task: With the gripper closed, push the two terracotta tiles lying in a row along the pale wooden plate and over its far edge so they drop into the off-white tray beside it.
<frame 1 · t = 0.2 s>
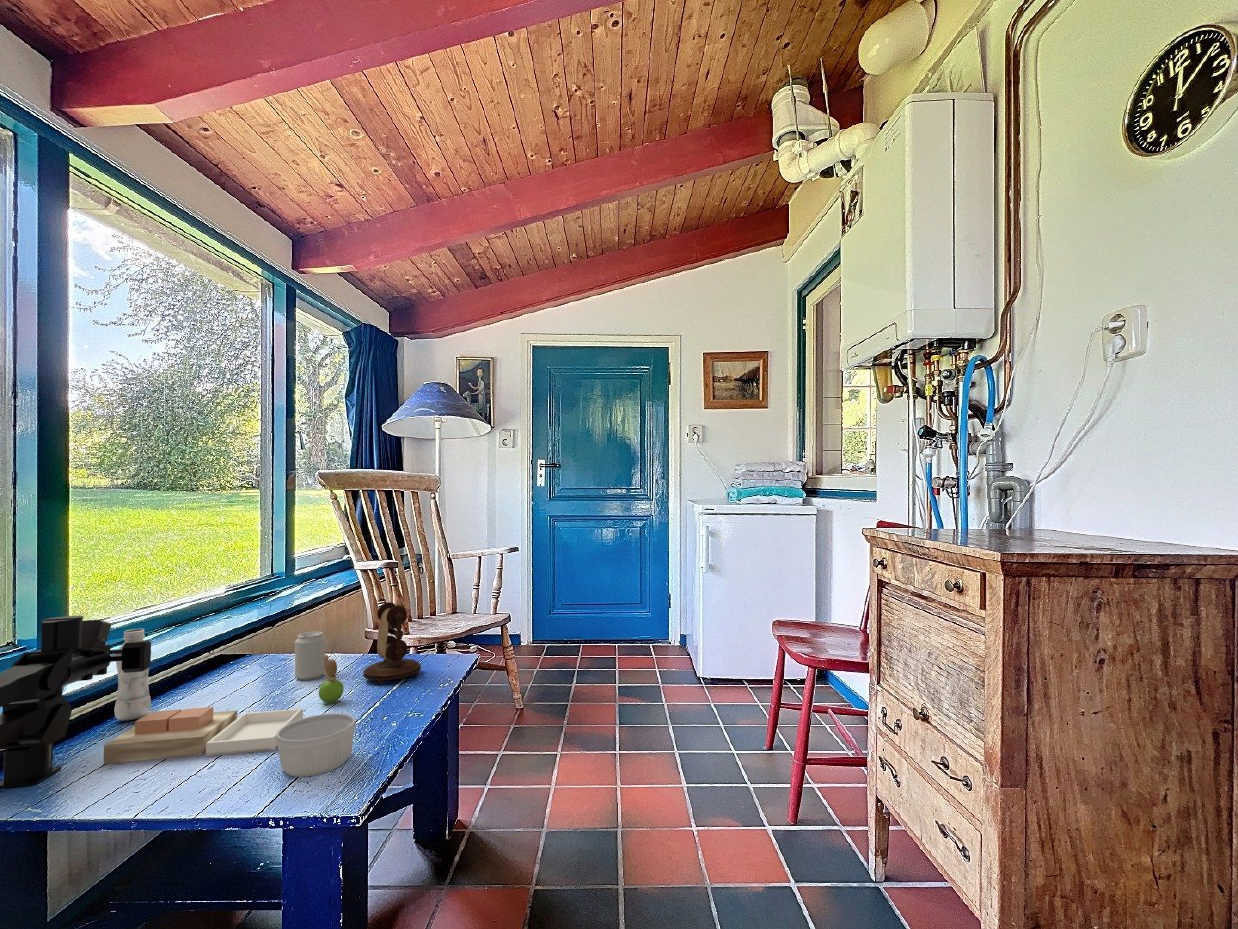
hand: (125, 650, 131), 16 cm above the table, tool horizontal, fingers open, 9 cm apart
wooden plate: (175, 744, 119), on the table
tile 2: (191, 725, 120), point 3 cm above the table, touching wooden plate
green maraca: (330, 702, 142), on the table
ramekin: (316, 765, 109), on the table
can: (310, 677, 162), on the table
plastic bottle: (132, 719, 133), on the table
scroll: (392, 678, 160), on the table
tile 1: (158, 727, 119), point 3 cm above the table, touching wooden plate
tray: (257, 736, 122), on the table
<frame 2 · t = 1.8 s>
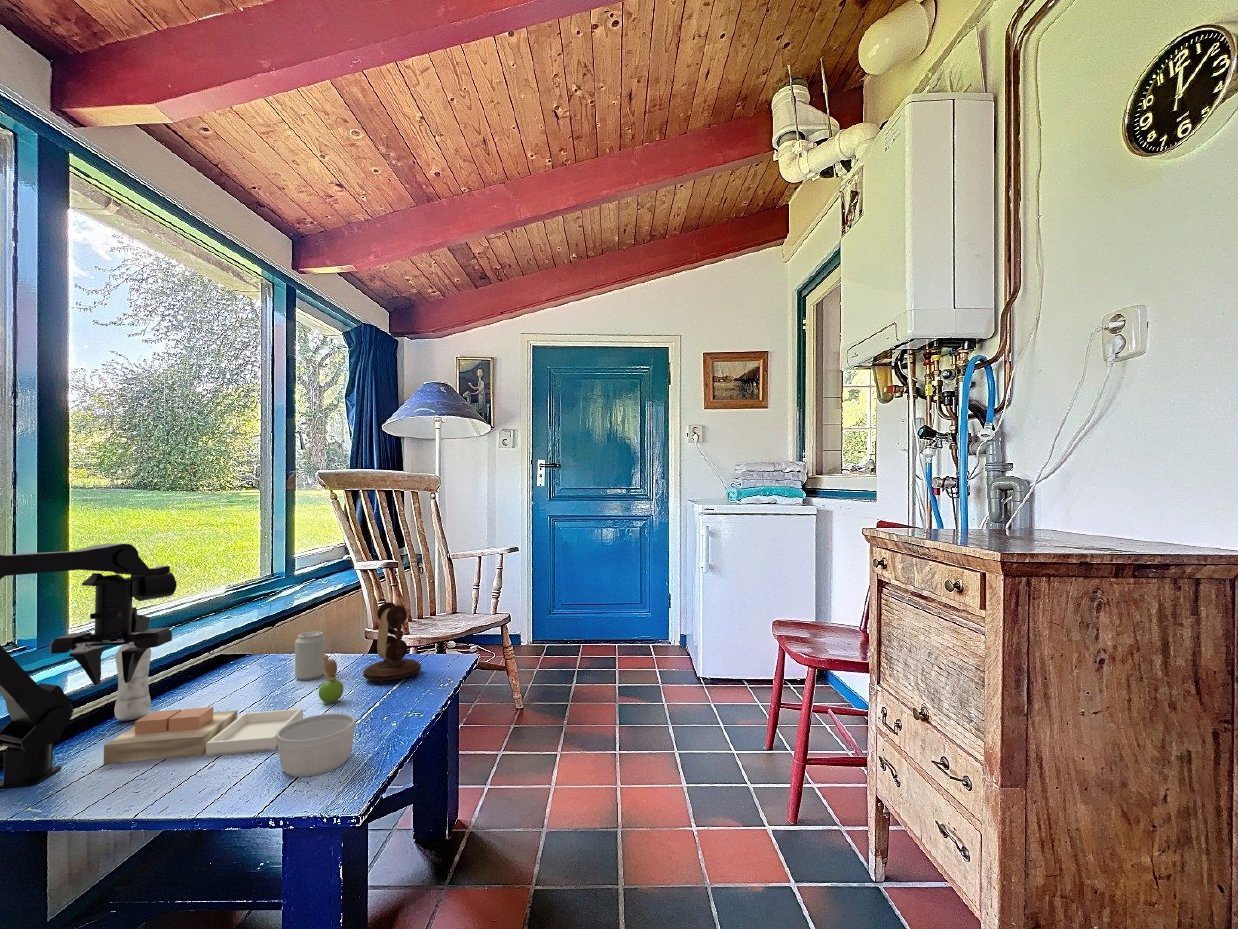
hand: (112, 683, 118), 13 cm above the table, tool pointing down, fingers open, 5 cm apart
nothing on the table moved.
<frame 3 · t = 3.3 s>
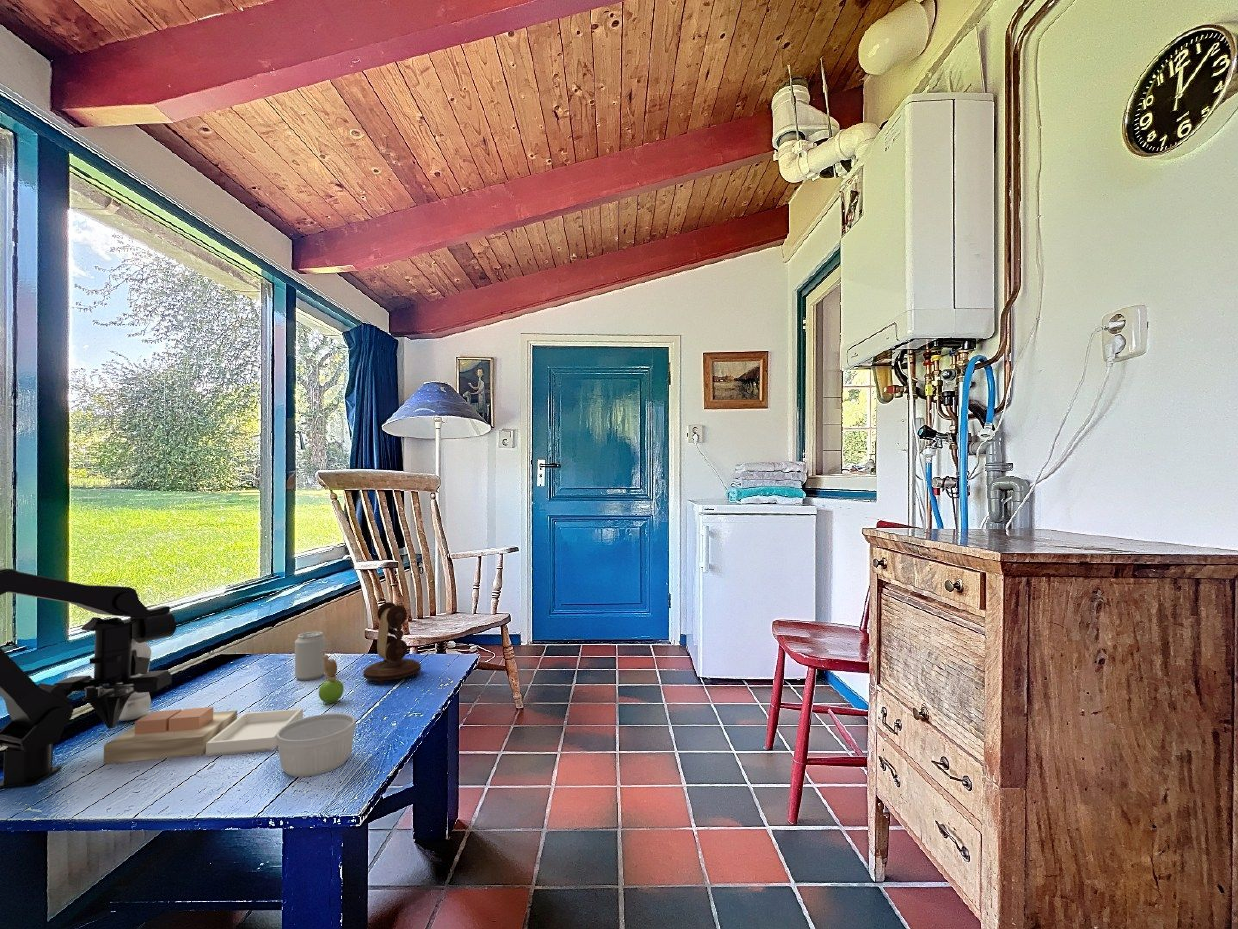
hand: (111, 727, 117), 4 cm above the table, tool pointing down, fingers closed
nothing on the table moved.
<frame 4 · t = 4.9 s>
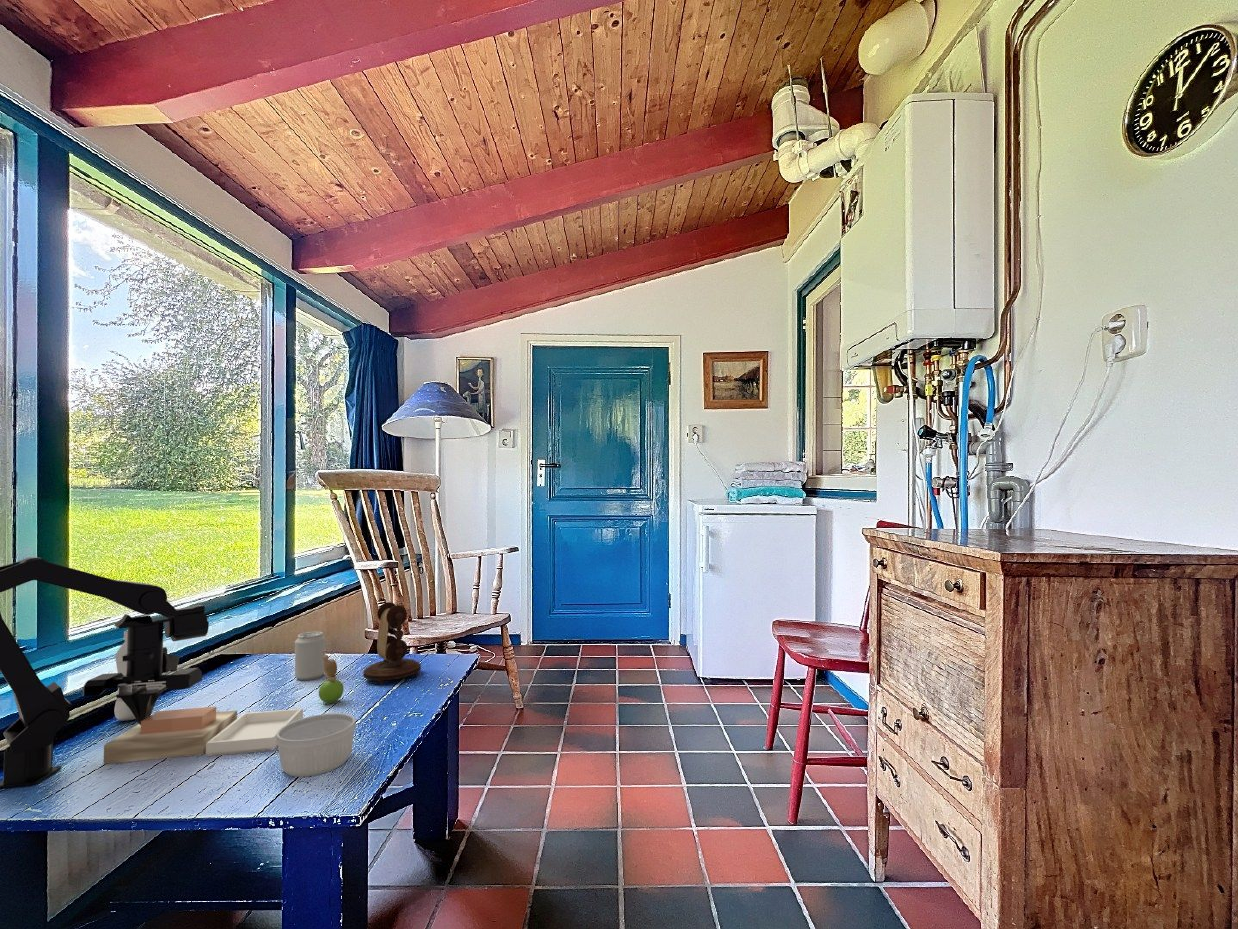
hand: (143, 724, 118), 4 cm above the table, tool pointing down, fingers closed
tile 2: (194, 724, 120), point 4 cm above the table, touching tile 1
tile 1: (164, 727, 119), point 4 cm above the table, touching tile 2, gripper
everything else where it was.
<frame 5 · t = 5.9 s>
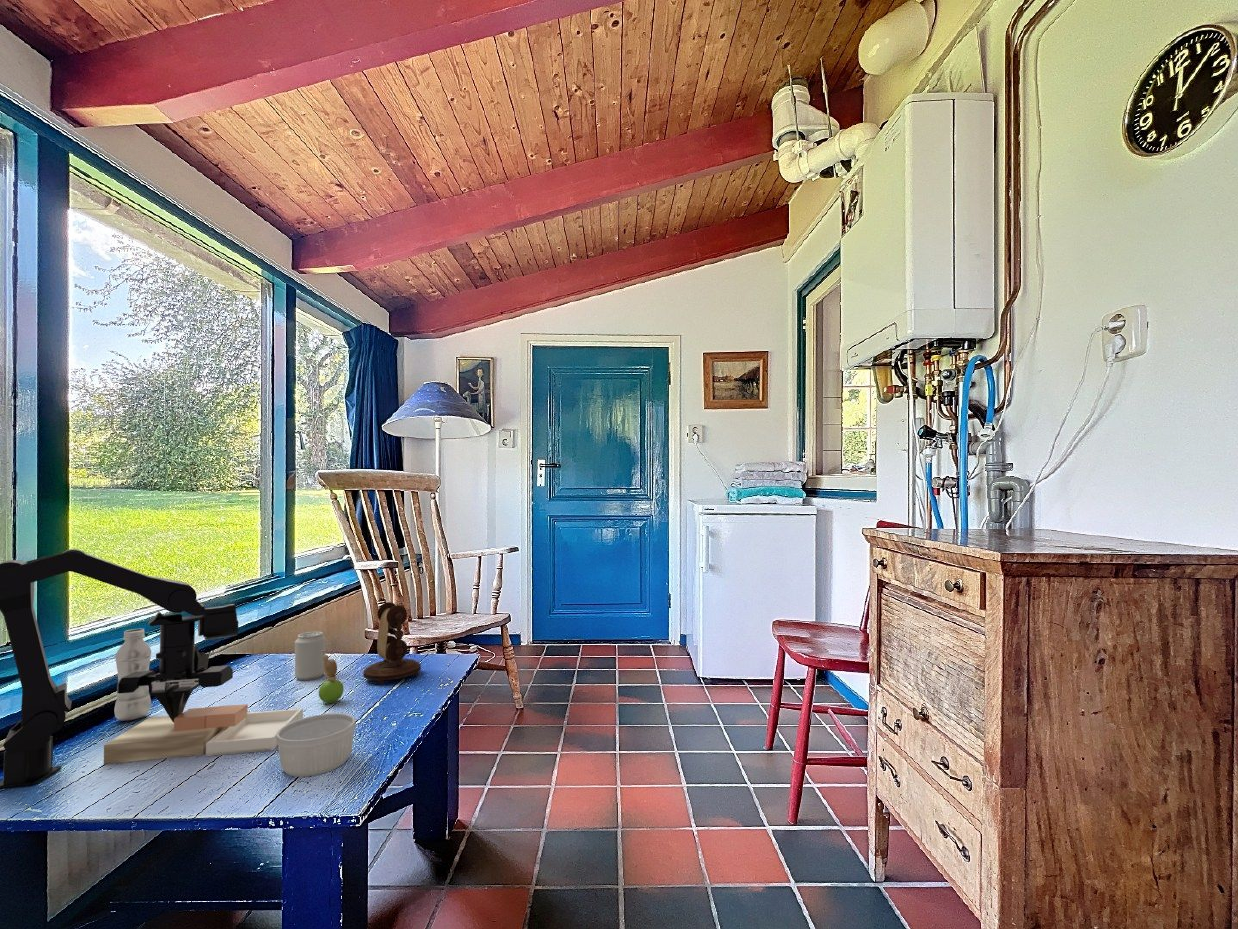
hand: (176, 721, 119), 4 cm above the table, tool pointing down, fingers closed
tile 2: (226, 722, 121), point 3 cm above the table, touching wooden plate
tile 1: (196, 724, 120), point 4 cm above the table, touching gripper
everything else where it was.
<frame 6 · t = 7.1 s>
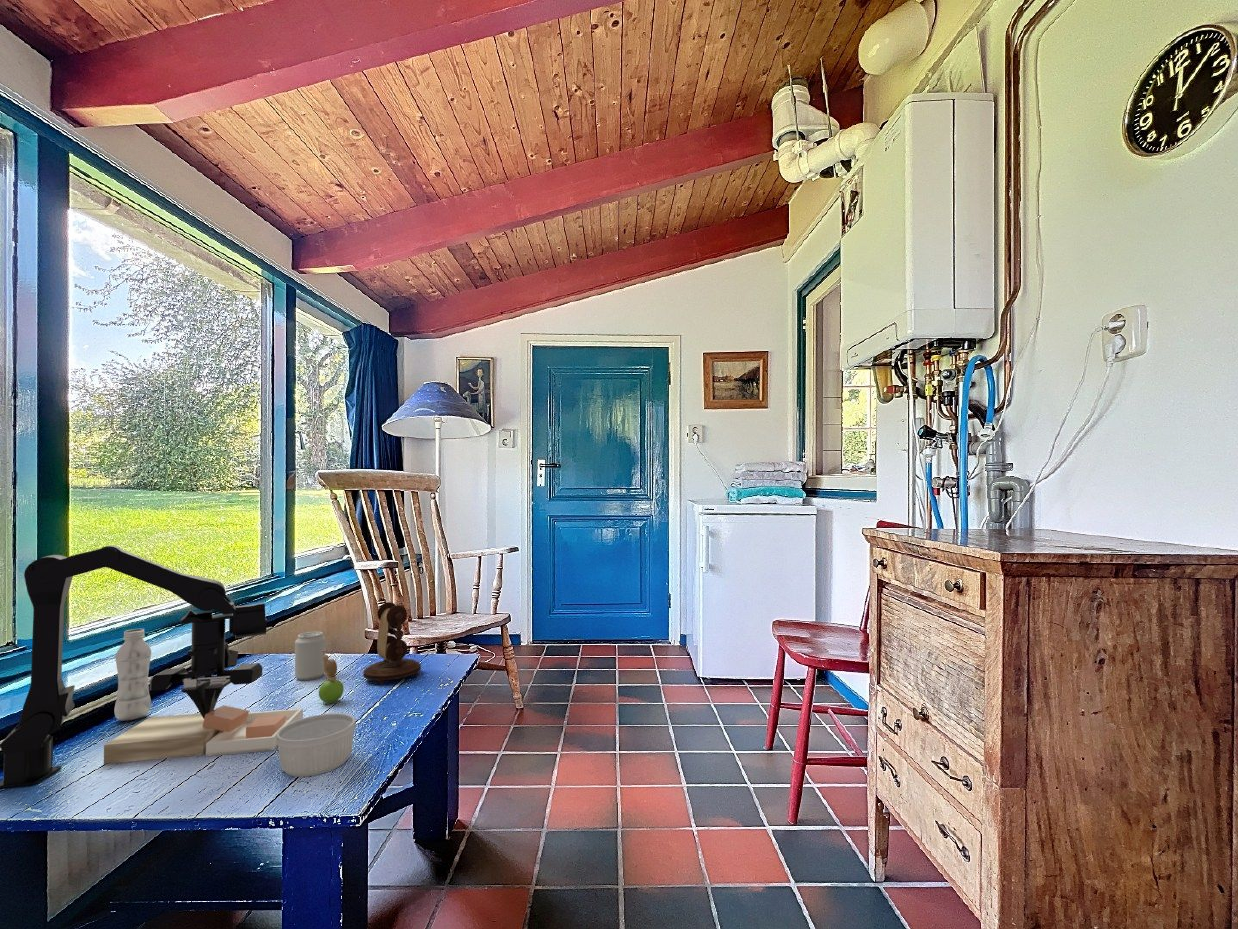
hand: (207, 718, 120), 5 cm above the table, tool pointing down, fingers closed
tile 2: (266, 721, 122), point 3 cm above the table, tilted 180°, touching tray
tile 1: (224, 724, 120), point 3 cm above the table, tilted 13°, touching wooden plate
everything else where it was.
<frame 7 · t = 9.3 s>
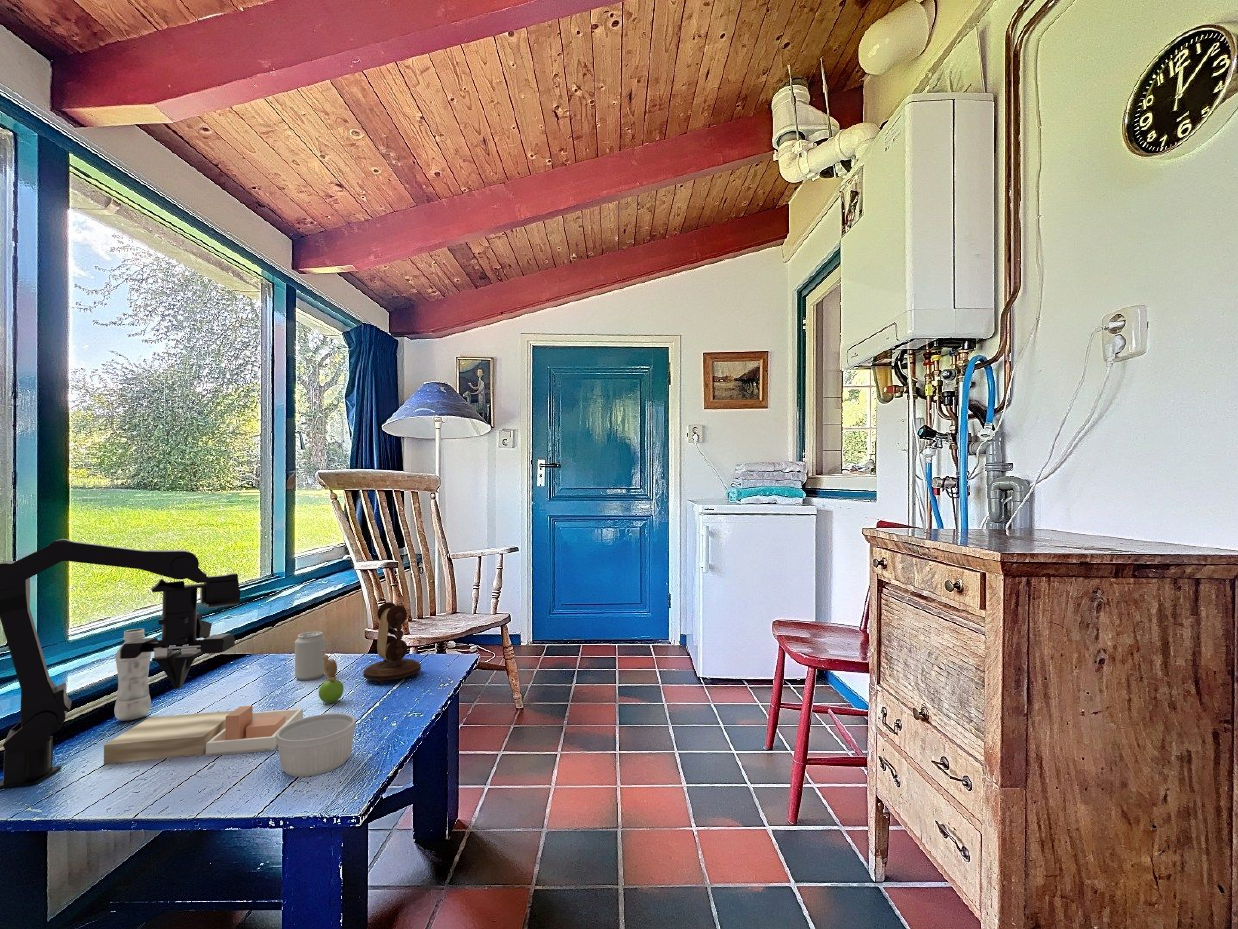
hand: (178, 688, 120), 11 cm above the table, tool pointing down, fingers closed
tile 1: (232, 725, 120), point 3 cm above the table, tilted 90°, touching tray
everything else where it was.
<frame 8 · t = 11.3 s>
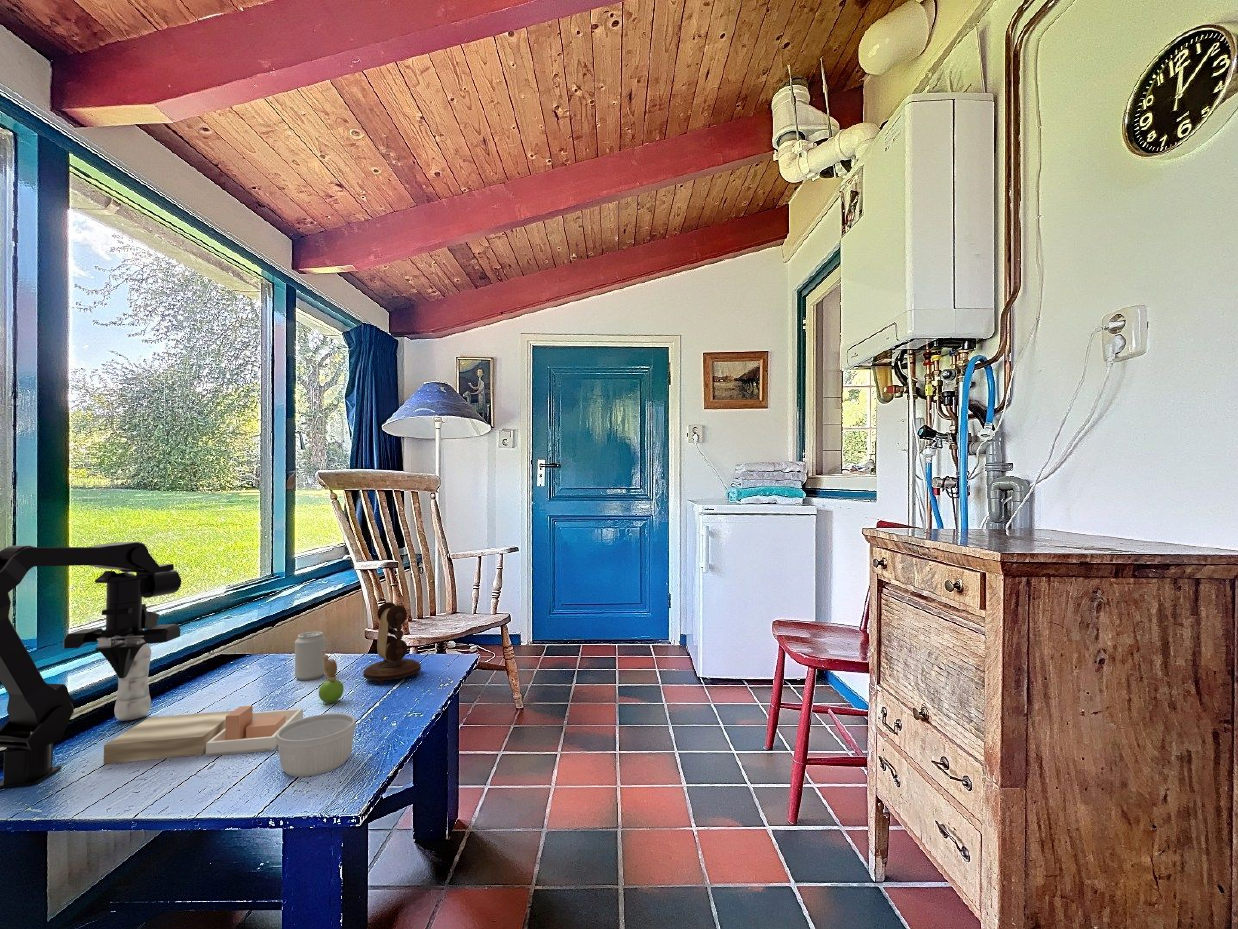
hand: (122, 677, 121), 13 cm above the table, tool pointing down, fingers closed
nothing on the table moved.
at the end: tile 2 inside the target area on the tray (1.5 cm from its centre), point 3.0 cm above the tray's base; tile 1 inside the target area on the tray (4.5 cm from its centre), point 3.2 cm above the tray's base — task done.
